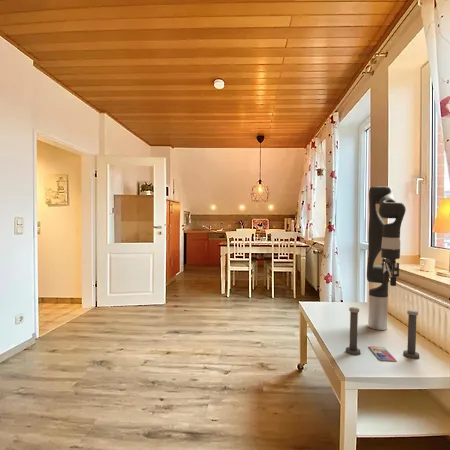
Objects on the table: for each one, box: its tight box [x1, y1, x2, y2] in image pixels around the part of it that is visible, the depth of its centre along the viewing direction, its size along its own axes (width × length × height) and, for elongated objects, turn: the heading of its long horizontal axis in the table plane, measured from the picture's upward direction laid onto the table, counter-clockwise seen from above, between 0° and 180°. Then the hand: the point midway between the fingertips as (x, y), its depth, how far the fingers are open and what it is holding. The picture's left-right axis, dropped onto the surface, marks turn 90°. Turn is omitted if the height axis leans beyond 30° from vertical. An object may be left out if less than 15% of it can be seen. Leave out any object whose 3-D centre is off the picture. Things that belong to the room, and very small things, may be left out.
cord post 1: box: [345, 306, 361, 356], centre depth 147 cm, size 6×6×19 cm
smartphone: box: [368, 345, 398, 363], centre depth 146 cm, size 7×1×15 cm
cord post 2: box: [402, 309, 420, 360], centre depth 145 cm, size 6×6×19 cm
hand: (389, 283), depth 151 cm, fingers open, 8 cm apart
